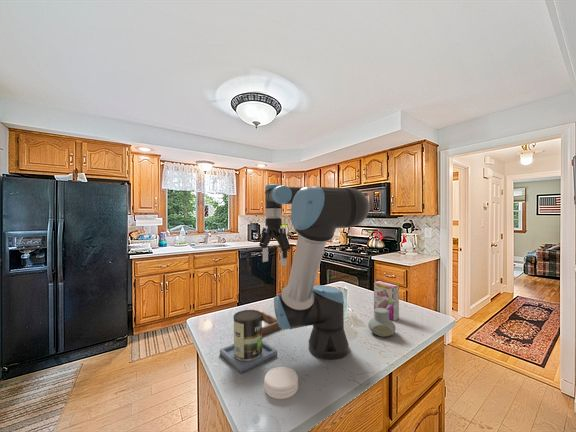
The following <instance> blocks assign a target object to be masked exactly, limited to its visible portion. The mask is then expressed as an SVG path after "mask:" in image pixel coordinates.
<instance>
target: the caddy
mask: <svg viewBox="0 0 576 432" xmlns="http://www.w3.org/2000/svg"><path fill="white" fill-rule="evenodd" d="M260 312H261V313H262V321H265V322H266V323H267V322H268V323H270V324H268V325H265V326H262V337H263V336H265V335H268V334H270V333H273V332H275V331H278V330H279V329H280V330H281V328H280V327H279V325H278V322H277V319H276V316H275V317H274V316H272V315H270V314H268V313H266V312H265V311H260Z"/></svg>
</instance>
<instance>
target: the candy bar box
mask: <svg viewBox="0 0 576 432" xmlns="http://www.w3.org/2000/svg"><path fill="white" fill-rule="evenodd" d="M399 289H400V287H399V285H396V284H393V283H389V282H386V281H381V280H378V281H374V282H373V310H374V309H376V308H385V309H387V310H388V311H389V320H391V321H392V322H395V321H397V320H399V319H400V299H399V298H400V295H399V294H400V292H399V291H400V290H399Z"/></svg>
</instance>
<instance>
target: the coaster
mask: <svg viewBox="0 0 576 432" xmlns="http://www.w3.org/2000/svg"><path fill="white" fill-rule="evenodd" d="M263 382H264V386H263V387H264V392H265V393H266V395H267V396H268V397H270V398H272V399H275V400H287V399H290V398H291V397H293V396H294V395H296V393H297V392H298V390H299V376H298V373H297V372H296V370H294V369H292V368H291V367H287V366H278V367H274V368H271V369H270V370H268V371H267V373H265V376H264V381H263Z"/></svg>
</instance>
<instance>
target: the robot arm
mask: <svg viewBox="0 0 576 432" xmlns="http://www.w3.org/2000/svg"><path fill="white" fill-rule="evenodd" d="M264 188H265V189H264V190H265V191H264V196H265V198H264V200H265V208H264V209H265V210H264V213H265V226H266V227H263V228H262V234H261V237H260V241H259V244H258V246H259V247H261V249H262V252H261V254H262V263H265V262H269V243H270V241H271V240H272V238H273V239H275V240H276V241H277V244H278V246H279V247H280V249H281V250H280V266H281V267H283V266H287V260H288V259H287V258H288V251H289V250H291V245H290V242H289V239H288V236H287V232H286V228H284V227H283V228H281V226H283V223H282V221H283V220H282V205H291V206H290V221H291V224H292V227H294V230H295V232H296V234H298V235H297V241H296V244H295V249H294V254H293V260H292V263H291V267H290V274H289V277H288V283H287V285H284V287H283V289H282V290H281V293H280V294H281V295H279V294H278V295H275V296H274V298H273V308H274V315H275V318H276V319H277V322H278V325H279V327H280V330H283V331H284V330H293V329H298V328H304V327H310V326H312V329H311V332H310V336H309V339H308V351H310V353H311V354H312V355H313V356H316V357H317V358H321V359H325V360H339V359H343V358H344V357H345V356H347V355H348V354H349V351H350V347H349V345H350V343H349V341H348V339H347V335H346V332H345V327H344V326H345V325H344V323H345V321H344V320H345V318H344V304H345V302H344V293H343V291H342V290H340V289H339V288H337V287H334V286H330V285H321V284H317V285H315V283H316V280H317V279H316V278H317V276H318V271H319V270H320V266H321V265H320V264H321V262H322V258H323V255H324V251H325V248H326V244H327V242H330V241H331V240H332V239H333V238H334V236H335V233H336V230H337V229H346V228H347V229H348V228H353V227H356V226H358V225H360V224H362V223H363V222H364V220H366V218H367V217H368V215H369V211H370V202H369V199H368V197H367V196H366V195H365V194H364V193H363V192H362V191H361V190H358V189H356V188H352V187H333V186H332V187H324V186H316V185H314V186H304V187H303V186H287V185H281V184H277V183H270V184H265V187H264Z"/></svg>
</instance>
